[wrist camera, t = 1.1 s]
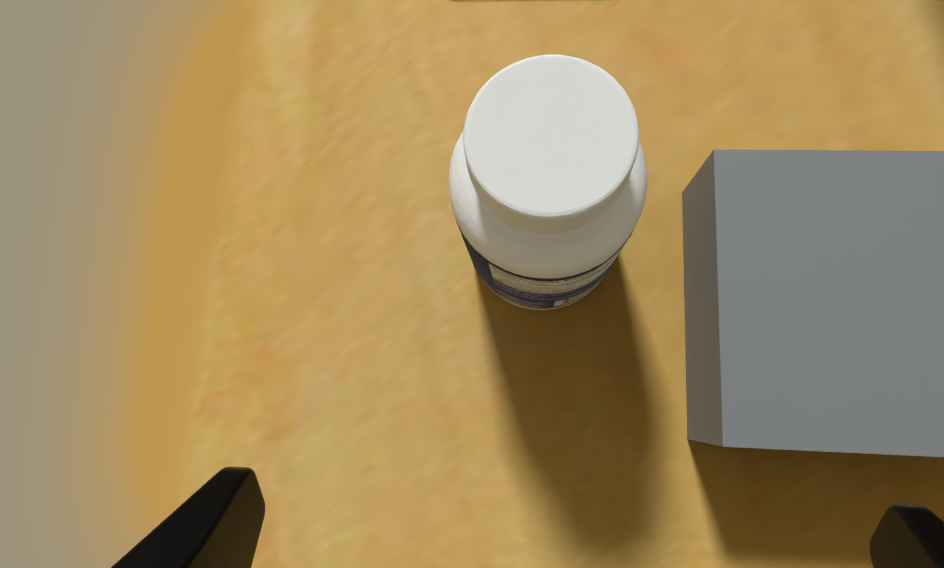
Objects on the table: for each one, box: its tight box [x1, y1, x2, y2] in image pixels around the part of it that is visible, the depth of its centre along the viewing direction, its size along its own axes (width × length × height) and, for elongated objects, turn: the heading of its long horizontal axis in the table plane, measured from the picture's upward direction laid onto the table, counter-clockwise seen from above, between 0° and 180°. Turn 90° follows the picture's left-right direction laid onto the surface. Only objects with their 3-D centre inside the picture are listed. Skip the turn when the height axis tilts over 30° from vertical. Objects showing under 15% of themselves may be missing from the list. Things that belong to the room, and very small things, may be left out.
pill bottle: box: [449, 55, 647, 310], centre depth 19 cm, size 5×5×10 cm
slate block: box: [682, 150, 944, 457], centre depth 20 cm, size 9×9×4 cm
